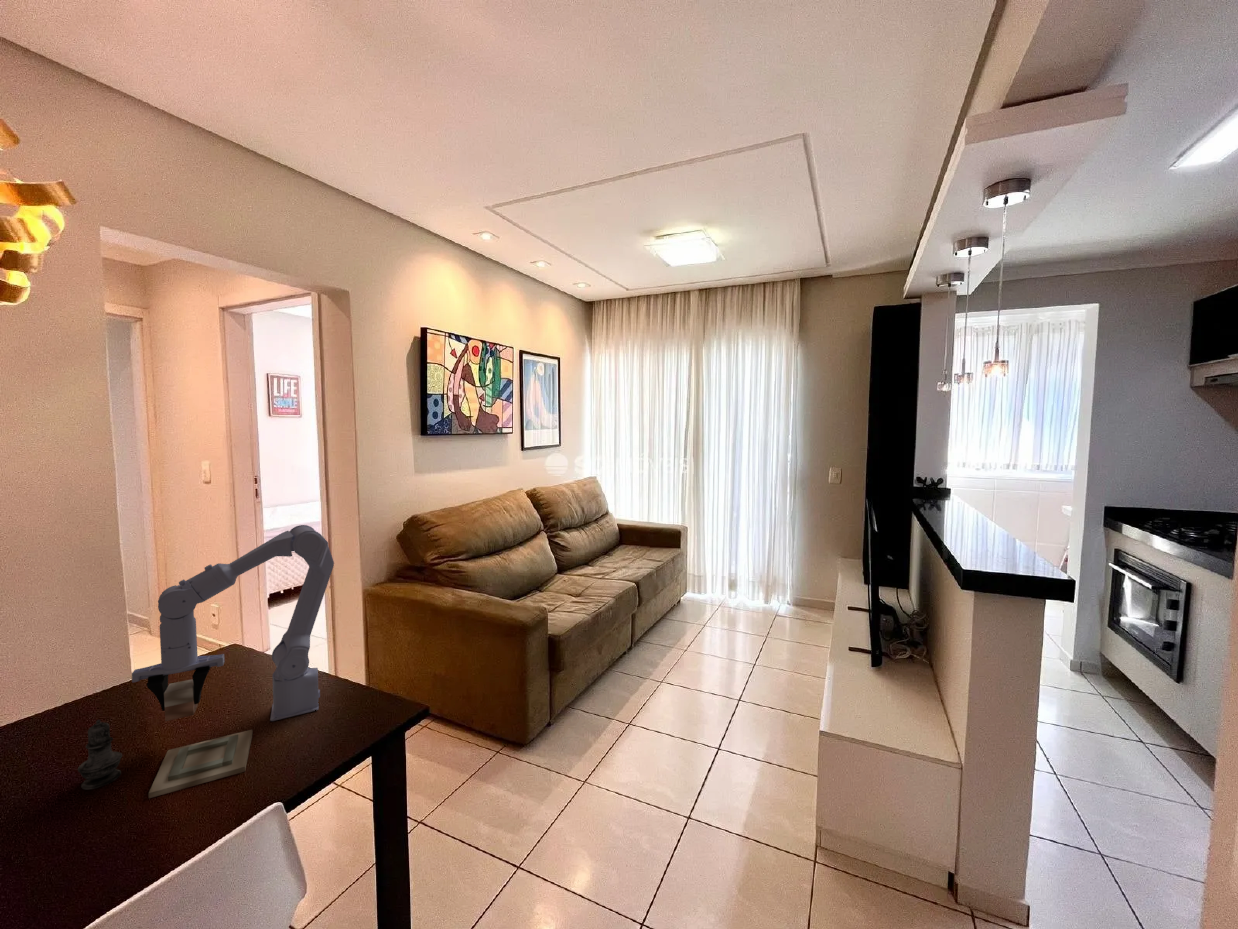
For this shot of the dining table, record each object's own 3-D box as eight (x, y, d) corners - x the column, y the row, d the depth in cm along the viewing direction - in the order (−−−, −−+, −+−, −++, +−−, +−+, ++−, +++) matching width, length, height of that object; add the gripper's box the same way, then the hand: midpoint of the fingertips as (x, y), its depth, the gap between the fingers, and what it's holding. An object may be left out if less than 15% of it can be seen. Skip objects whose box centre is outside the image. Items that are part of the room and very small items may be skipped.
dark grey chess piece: (94, 793, 90) (90, 730, 89) (69, 788, 91) (66, 726, 90) (131, 771, 96) (128, 712, 95) (108, 767, 97) (105, 708, 96)
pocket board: (252, 733, 108) (252, 725, 108) (245, 771, 96) (244, 762, 96) (168, 754, 101) (167, 746, 101) (148, 798, 89) (148, 789, 89)
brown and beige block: (198, 704, 107) (196, 678, 107) (193, 715, 104) (192, 687, 103) (170, 710, 105) (169, 683, 105) (165, 721, 101) (163, 693, 101)
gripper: (225, 629, 110) (228, 687, 111) (138, 643, 103) (141, 705, 104) (220, 641, 104) (222, 702, 105) (126, 656, 97) (130, 722, 98)
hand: (181, 705), depth 104 cm, fingers closed on brown and beige block, 4 cm apart
